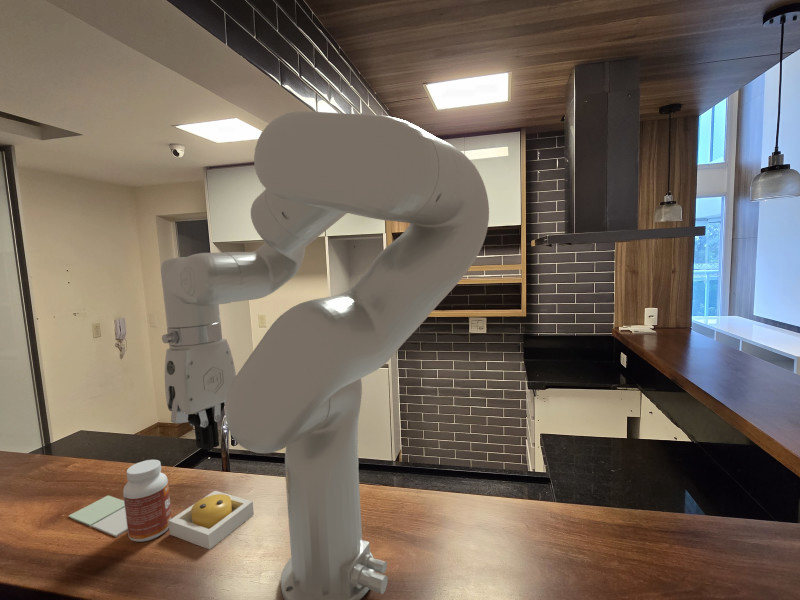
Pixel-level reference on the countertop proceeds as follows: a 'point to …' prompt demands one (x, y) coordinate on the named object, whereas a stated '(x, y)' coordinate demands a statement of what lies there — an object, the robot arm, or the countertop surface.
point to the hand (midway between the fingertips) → (208, 446)
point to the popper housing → (210, 537)
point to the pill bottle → (146, 501)
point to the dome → (211, 510)
